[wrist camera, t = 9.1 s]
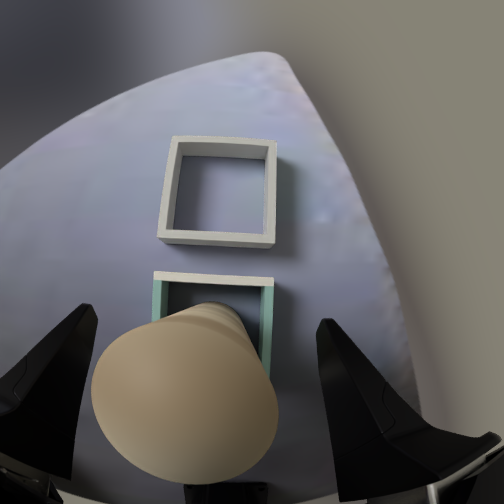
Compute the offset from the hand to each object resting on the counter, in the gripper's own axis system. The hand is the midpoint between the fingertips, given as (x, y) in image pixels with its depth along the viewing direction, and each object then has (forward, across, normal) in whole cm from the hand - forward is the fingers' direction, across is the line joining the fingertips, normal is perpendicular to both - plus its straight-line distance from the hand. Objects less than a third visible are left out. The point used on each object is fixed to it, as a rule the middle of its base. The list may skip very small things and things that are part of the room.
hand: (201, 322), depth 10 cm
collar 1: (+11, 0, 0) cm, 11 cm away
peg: (+4, 0, +6) cm, 8 cm away
